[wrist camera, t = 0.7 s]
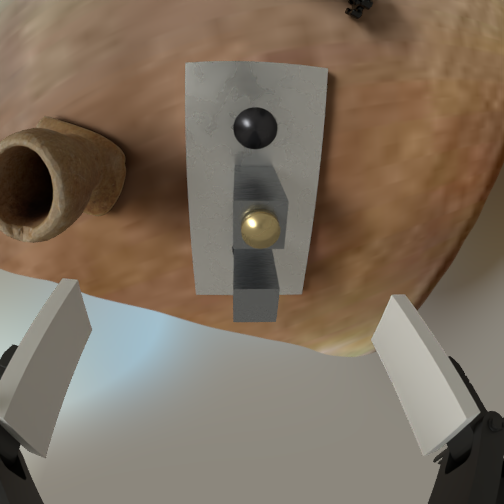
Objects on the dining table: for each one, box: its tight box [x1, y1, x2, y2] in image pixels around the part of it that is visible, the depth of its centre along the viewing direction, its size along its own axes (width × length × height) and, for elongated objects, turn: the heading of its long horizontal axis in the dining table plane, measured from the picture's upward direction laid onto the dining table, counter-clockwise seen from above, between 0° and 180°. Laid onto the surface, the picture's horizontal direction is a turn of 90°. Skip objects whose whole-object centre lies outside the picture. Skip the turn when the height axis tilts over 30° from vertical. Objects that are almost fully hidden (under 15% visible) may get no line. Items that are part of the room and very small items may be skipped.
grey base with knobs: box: [185, 61, 328, 322], centre depth 27 cm, size 14×28×12 cm, turn 178°
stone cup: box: [0, 116, 126, 243], centre depth 22 cm, size 15×12×15 cm
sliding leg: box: [233, 166, 289, 249], centre depth 25 cm, size 4×4×11 cm
